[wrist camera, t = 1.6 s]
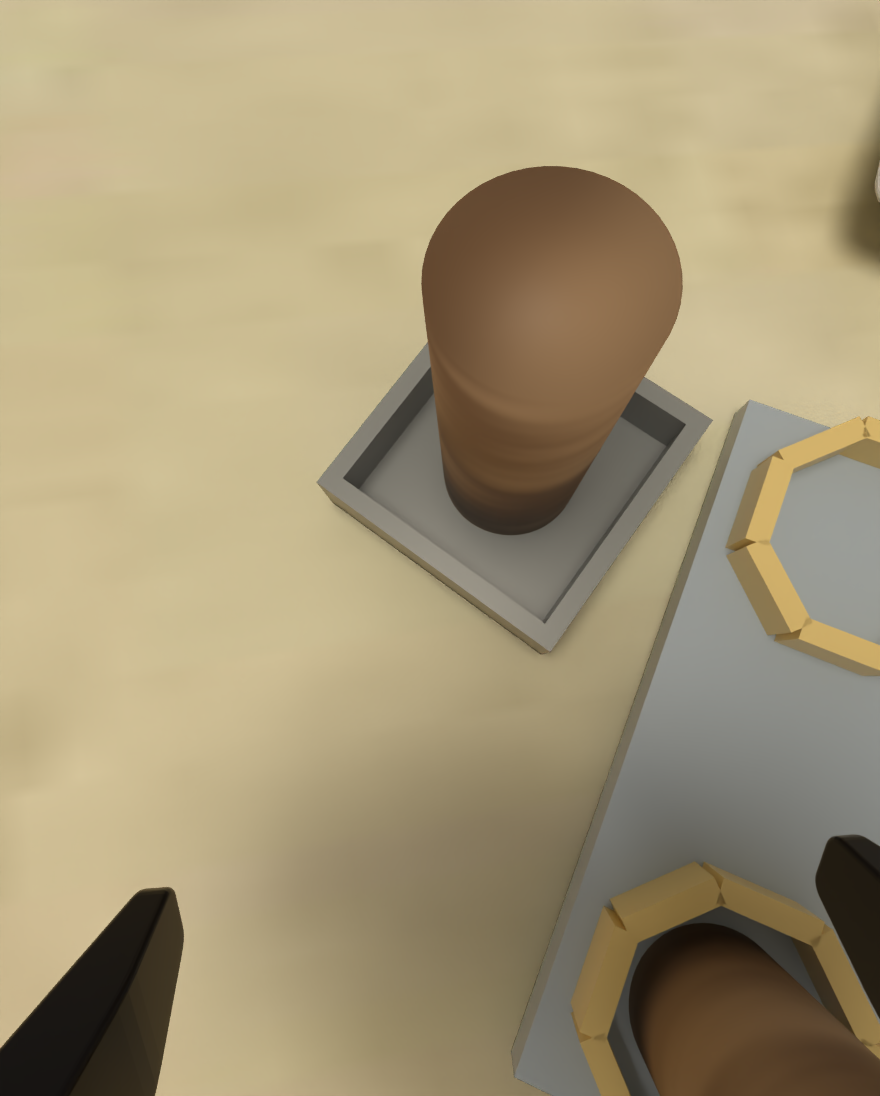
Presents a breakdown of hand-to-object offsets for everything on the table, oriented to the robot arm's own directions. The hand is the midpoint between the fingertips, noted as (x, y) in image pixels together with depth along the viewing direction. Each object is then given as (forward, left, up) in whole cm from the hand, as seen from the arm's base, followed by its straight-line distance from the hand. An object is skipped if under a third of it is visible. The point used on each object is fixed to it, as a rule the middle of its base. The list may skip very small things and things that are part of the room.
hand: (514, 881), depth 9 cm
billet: (+5, -8, -12) cm, 15 cm away
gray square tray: (+5, -8, -12) cm, 16 cm away
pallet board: (-7, -5, -12) cm, 15 cm away
